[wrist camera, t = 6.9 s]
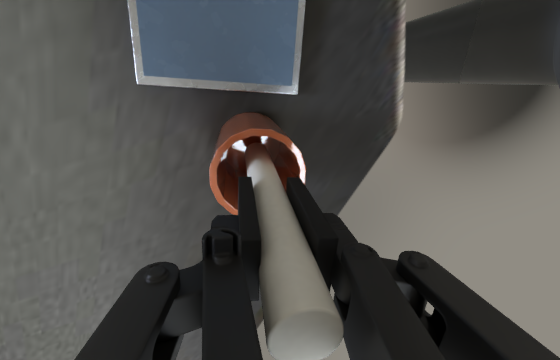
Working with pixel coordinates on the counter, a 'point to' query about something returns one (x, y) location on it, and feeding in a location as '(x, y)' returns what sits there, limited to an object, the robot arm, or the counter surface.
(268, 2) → the tablet
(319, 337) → the stylus
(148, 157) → the counter surface
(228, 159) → the pen pot
